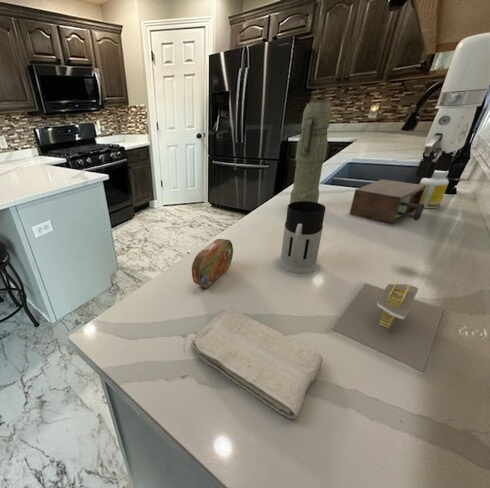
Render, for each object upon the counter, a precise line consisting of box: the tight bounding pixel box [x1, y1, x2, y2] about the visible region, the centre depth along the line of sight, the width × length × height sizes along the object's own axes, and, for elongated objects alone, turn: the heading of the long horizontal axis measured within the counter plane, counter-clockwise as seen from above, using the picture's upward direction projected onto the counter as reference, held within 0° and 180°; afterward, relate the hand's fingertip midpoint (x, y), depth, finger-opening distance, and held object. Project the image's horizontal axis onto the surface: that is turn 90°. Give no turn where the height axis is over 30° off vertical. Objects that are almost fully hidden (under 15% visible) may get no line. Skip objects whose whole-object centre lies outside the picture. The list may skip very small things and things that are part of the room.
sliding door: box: [395, 195, 425, 221], centre depth 76 cm, size 6×7×6 cm
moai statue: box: [289, 99, 332, 204], centre depth 87 cm, size 9×12×35 cm
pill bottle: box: [419, 170, 450, 209], centre depth 84 cm, size 6×6×12 cm
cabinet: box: [349, 179, 426, 226], centre depth 84 cm, size 12×16×8 cm
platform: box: [332, 280, 444, 373], centre depth 45 cm, size 12×18×7 cm, turn 131°
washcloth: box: [190, 307, 324, 420], centre depth 42 cm, size 12×18×3 cm, turn 46°
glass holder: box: [277, 201, 326, 274], centre depth 59 cm, size 9×14×15 cm, turn 147°
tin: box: [191, 238, 234, 289], centre depth 62 cm, size 15×3×8 cm, turn 139°
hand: (431, 173), depth 68 cm, fingers open, 9 cm apart
